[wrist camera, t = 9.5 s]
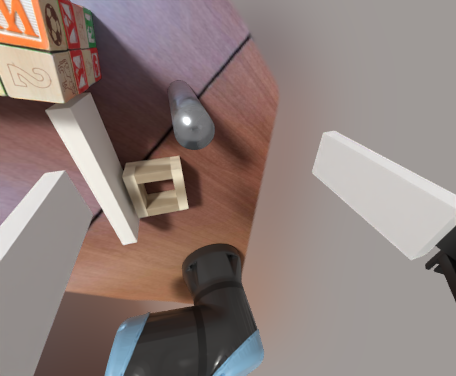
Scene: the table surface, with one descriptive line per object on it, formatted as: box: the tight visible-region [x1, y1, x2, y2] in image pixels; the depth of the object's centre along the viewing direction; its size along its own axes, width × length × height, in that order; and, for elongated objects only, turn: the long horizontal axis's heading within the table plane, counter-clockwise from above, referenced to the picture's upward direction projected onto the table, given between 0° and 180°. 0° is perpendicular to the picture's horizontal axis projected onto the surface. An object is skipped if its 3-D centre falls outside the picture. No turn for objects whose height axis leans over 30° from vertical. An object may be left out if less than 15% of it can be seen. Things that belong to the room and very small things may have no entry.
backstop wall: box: [45, 92, 140, 245], centre depth 27 cm, size 20×2×7 cm, turn 2°
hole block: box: [122, 156, 189, 218], centre depth 31 cm, size 8×8×4 cm
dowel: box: [168, 80, 215, 150], centre depth 21 cm, size 3×3×14 cm
